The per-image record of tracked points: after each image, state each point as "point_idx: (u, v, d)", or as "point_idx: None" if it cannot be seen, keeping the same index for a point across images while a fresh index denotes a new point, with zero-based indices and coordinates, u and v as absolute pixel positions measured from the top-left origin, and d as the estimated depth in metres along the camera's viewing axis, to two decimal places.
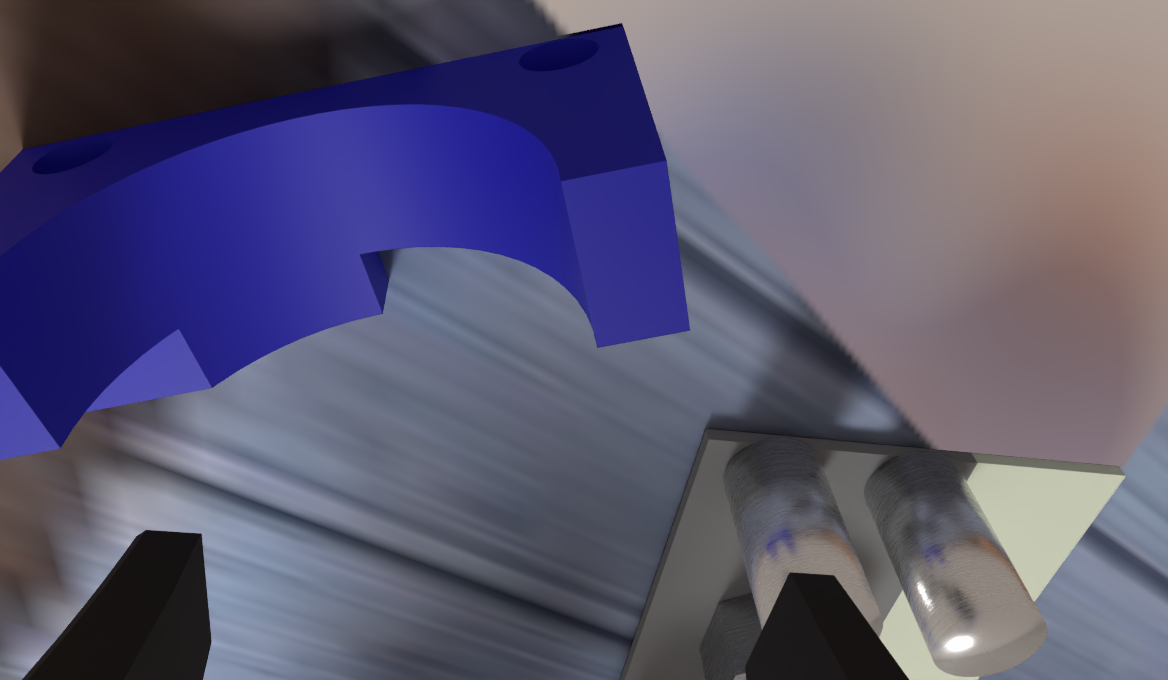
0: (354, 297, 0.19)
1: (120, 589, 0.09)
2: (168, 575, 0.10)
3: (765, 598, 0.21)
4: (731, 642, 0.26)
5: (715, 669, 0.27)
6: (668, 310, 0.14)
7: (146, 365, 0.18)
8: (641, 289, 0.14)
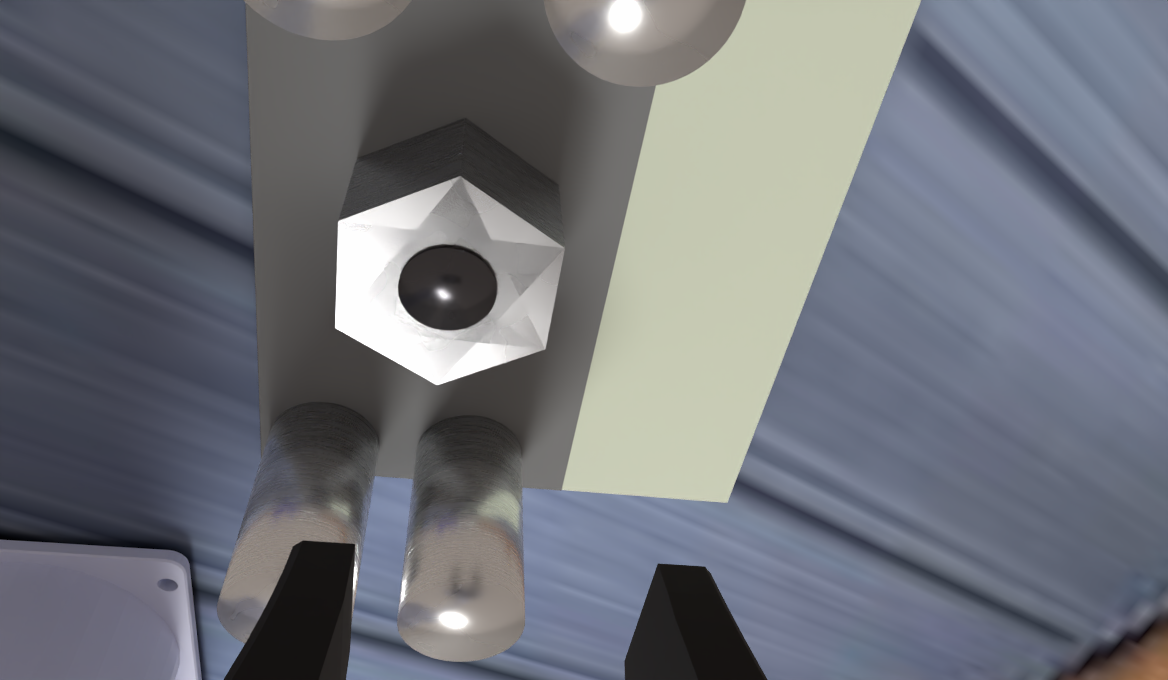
0: None
1: (293, 599, 0.10)
2: (334, 585, 0.10)
3: None
4: (351, 191, 0.17)
5: None
6: None
7: None
8: None
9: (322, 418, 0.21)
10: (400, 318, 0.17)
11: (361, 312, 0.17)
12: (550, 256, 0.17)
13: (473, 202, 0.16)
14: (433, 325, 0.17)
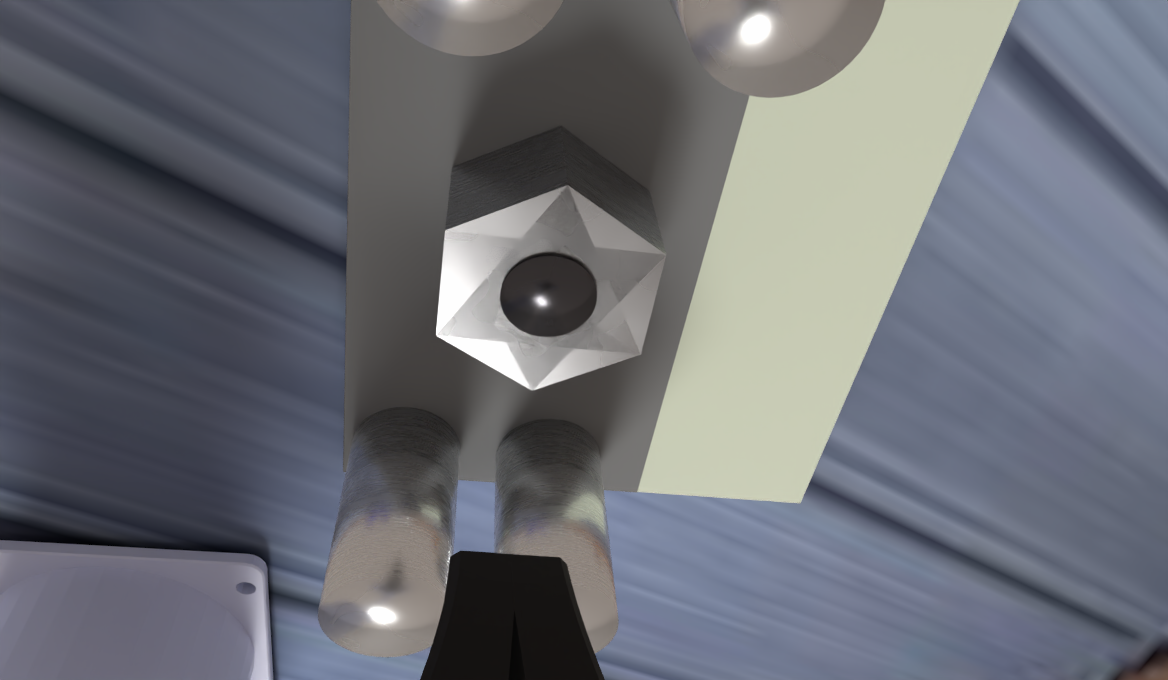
0: None
1: (466, 608, 0.10)
2: (502, 594, 0.10)
3: None
4: (453, 200, 0.17)
5: None
6: None
7: None
8: None
9: (407, 423, 0.21)
10: (500, 325, 0.17)
11: (462, 320, 0.17)
12: (652, 262, 0.17)
13: (579, 210, 0.16)
14: (533, 331, 0.17)
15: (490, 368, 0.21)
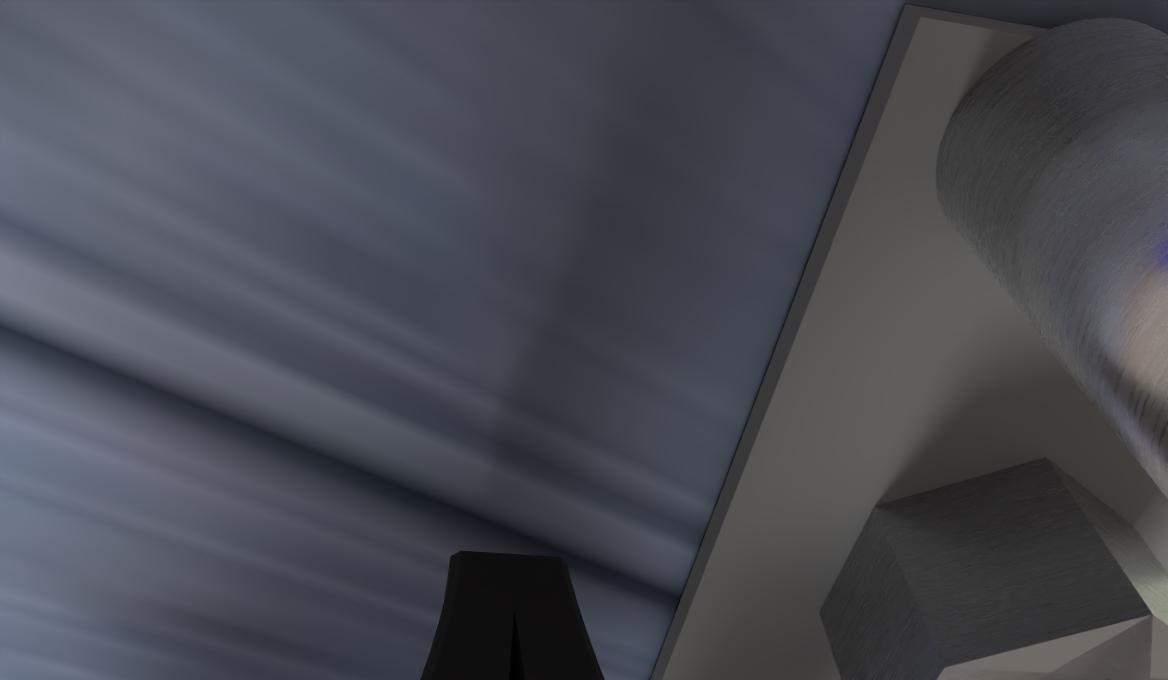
0: None
1: (466, 608, 0.10)
2: (502, 594, 0.10)
3: None
4: (920, 591, 0.11)
5: (871, 654, 0.12)
6: None
7: None
8: None
9: None
10: None
11: None
12: None
13: (1152, 641, 0.10)
14: None
15: None
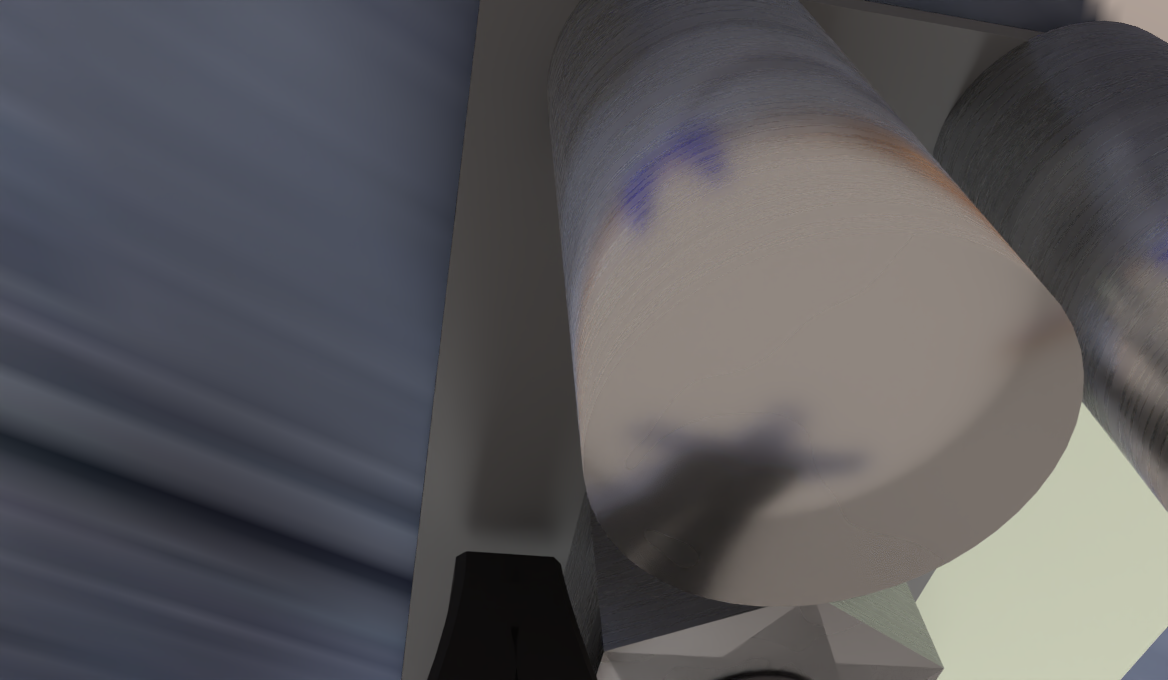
0: None
1: (472, 609, 0.10)
2: (508, 595, 0.10)
3: (591, 311, 0.05)
4: (604, 572, 0.11)
5: None
6: None
7: None
8: None
9: None
10: None
11: None
12: (919, 677, 0.11)
13: (823, 623, 0.10)
14: None
15: None
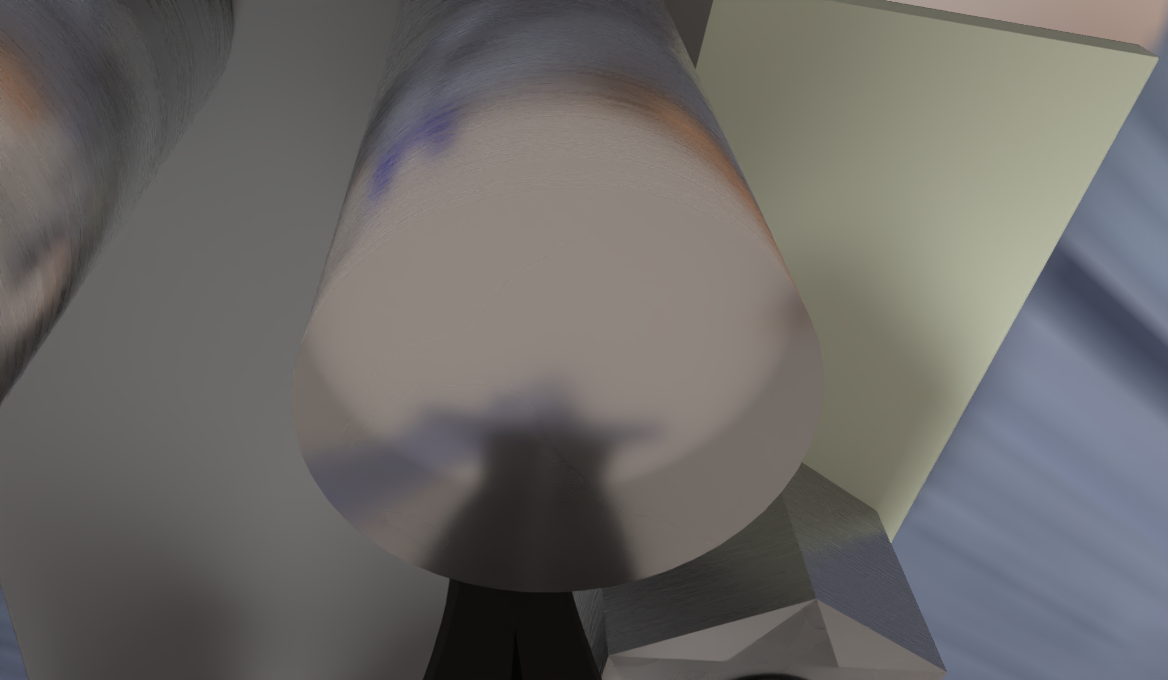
0: None
1: (468, 608, 0.10)
2: (504, 595, 0.10)
3: None
4: None
5: None
6: None
7: None
8: None
9: None
10: None
11: None
12: None
13: (826, 628, 0.10)
14: None
15: None
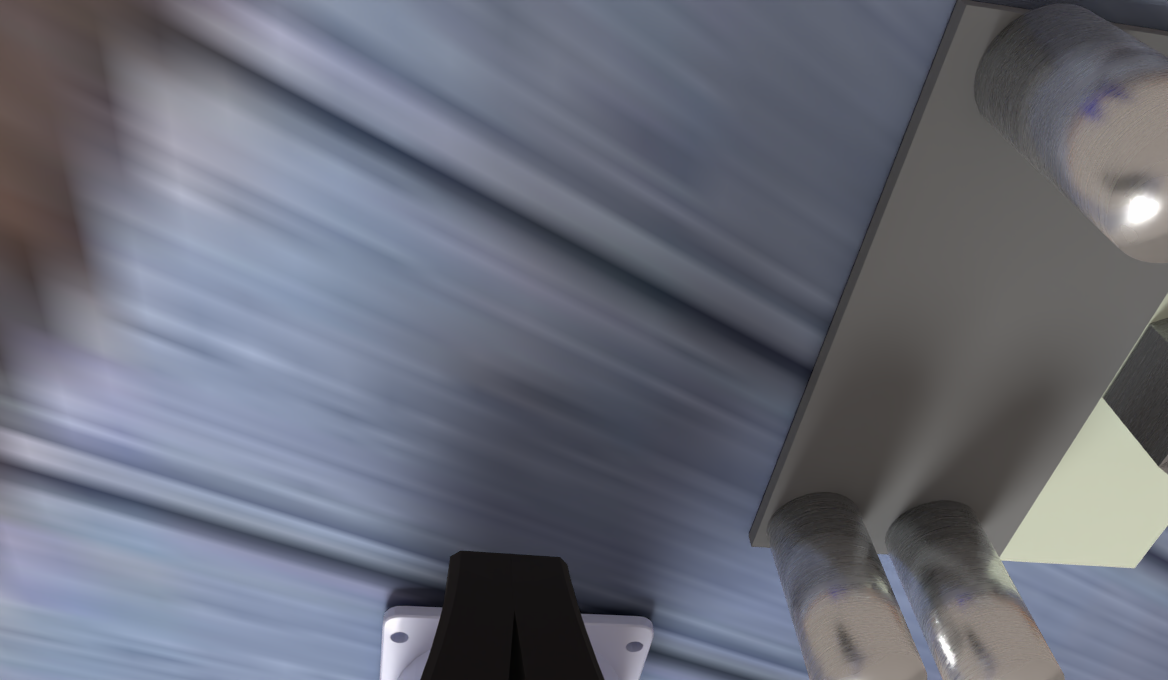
0: None
1: (466, 608, 0.10)
2: (502, 594, 0.10)
3: (1102, 146, 0.14)
4: None
5: (1153, 404, 0.22)
6: None
7: None
8: None
9: (835, 508, 0.24)
10: None
11: None
12: None
13: None
14: None
15: (908, 459, 0.24)
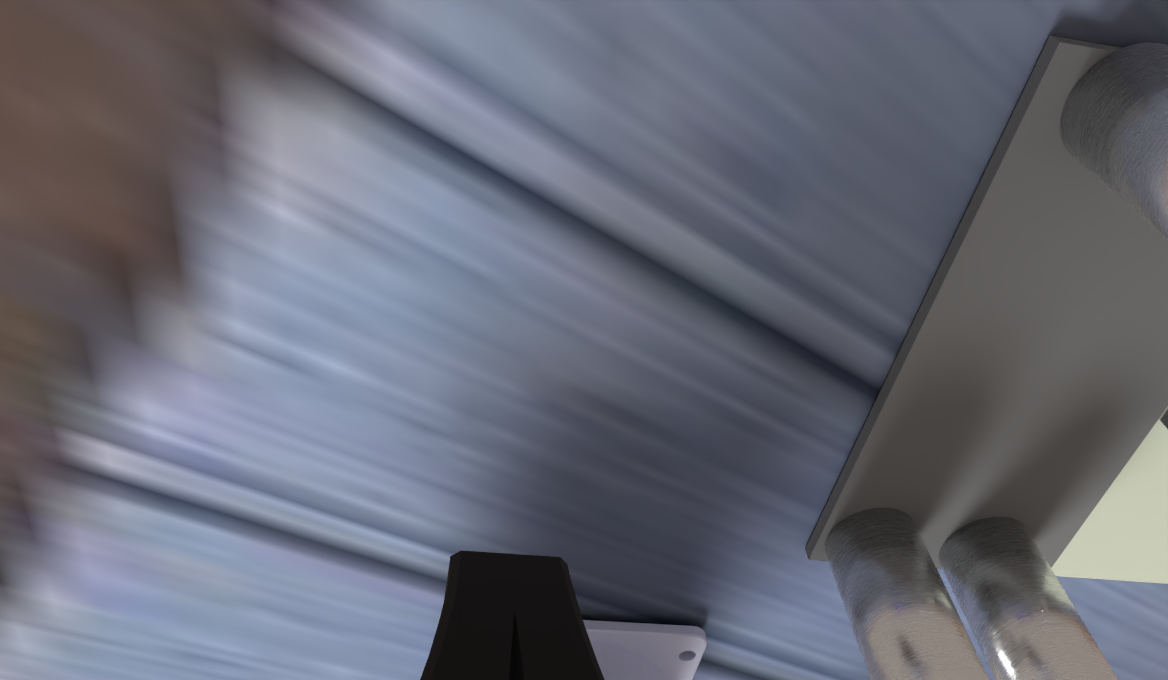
0: None
1: (466, 608, 0.10)
2: (502, 594, 0.10)
3: None
4: None
5: None
6: None
7: None
8: None
9: (895, 524, 0.25)
10: None
11: None
12: None
13: None
14: None
15: (968, 476, 0.25)
